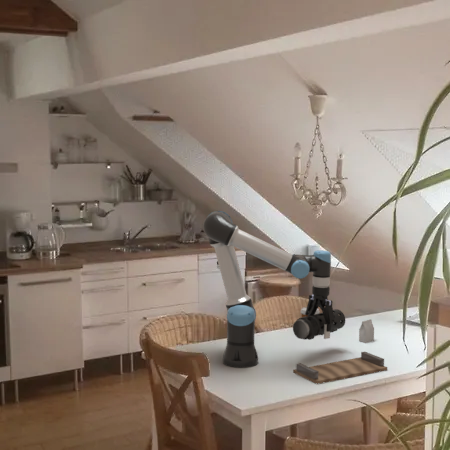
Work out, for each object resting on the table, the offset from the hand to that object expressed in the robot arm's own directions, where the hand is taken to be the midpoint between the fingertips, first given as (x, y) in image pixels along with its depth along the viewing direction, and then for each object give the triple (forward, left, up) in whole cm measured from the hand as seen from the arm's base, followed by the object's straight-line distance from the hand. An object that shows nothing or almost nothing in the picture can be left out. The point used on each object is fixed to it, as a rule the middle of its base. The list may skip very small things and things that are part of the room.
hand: (318, 335), depth 303 cm
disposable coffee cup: (+19, +33, -9) cm, 39 cm away
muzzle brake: (0, 0, -1) cm, 1 cm away
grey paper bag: (+34, +8, -9) cm, 37 cm away
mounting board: (-6, -22, -9) cm, 25 cm away
